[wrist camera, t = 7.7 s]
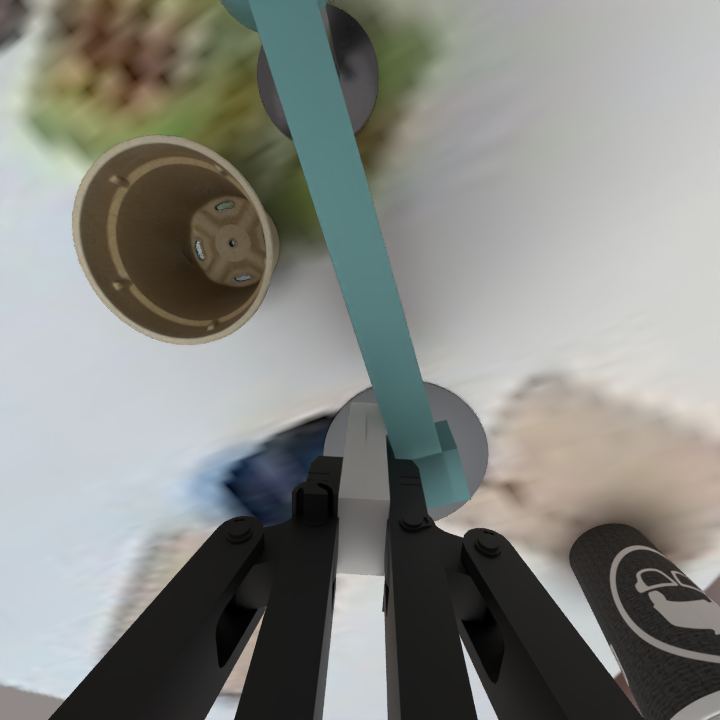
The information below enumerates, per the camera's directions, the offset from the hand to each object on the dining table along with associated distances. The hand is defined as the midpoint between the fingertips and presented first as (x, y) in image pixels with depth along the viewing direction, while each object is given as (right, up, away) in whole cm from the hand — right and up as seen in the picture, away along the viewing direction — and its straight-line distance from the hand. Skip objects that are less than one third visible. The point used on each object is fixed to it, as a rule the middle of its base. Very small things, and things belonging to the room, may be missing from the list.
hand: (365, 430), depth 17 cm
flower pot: (-9, +11, +9) cm, 17 cm away
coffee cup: (+21, -14, +16) cm, 30 cm away
